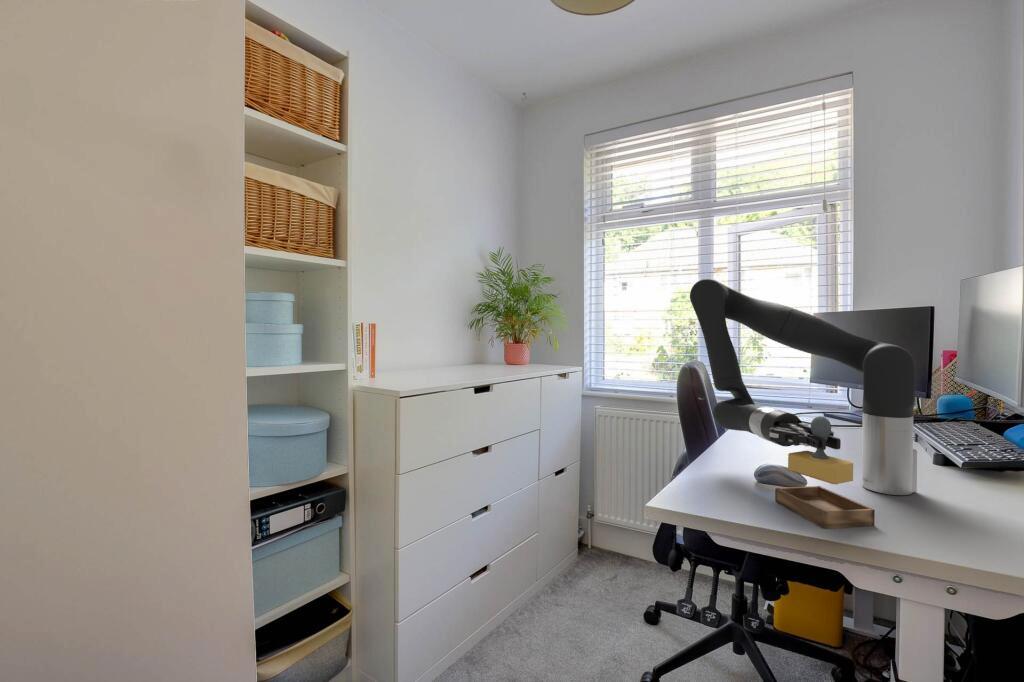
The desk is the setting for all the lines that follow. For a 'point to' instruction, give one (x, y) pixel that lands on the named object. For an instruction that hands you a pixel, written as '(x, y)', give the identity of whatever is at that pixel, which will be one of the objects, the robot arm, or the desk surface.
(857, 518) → the tray
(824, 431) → the rubber stamp
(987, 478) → the desk surface
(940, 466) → the desk surface
